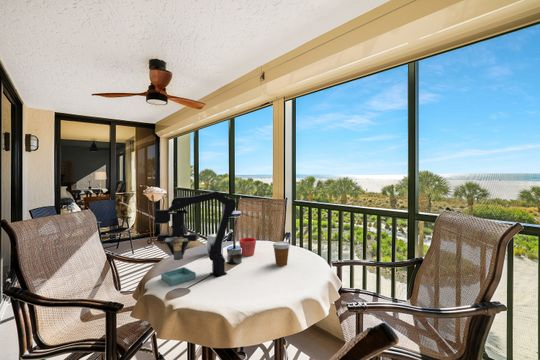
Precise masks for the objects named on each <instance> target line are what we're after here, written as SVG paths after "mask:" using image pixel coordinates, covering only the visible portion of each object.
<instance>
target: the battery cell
mask: <svg viewBox="0 0 540 360" xmlns="http://www.w3.org/2000/svg"><path fill="white" fill-rule="evenodd" d="M183 259H184V255H182V243H174V255H173V261H181V260H183Z"/></svg>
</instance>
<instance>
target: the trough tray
mask: <svg viewBox="0 0 540 360" xmlns="http://www.w3.org/2000/svg"><path fill="white" fill-rule="evenodd" d="M160 276H161V277H160V279H161V280H162V282H164V283H166V284H168V285H169V286H171V287H174V286H178V285H181V284H184V283H188V282H190V281H193V280H196V279H197V277H196V276H197V274H196V272H195V271H193V270H191V269H189V268H187V267H185V266H183V267H179V268H176V269H172V270H167V271H164V272H161V273H160Z"/></svg>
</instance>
